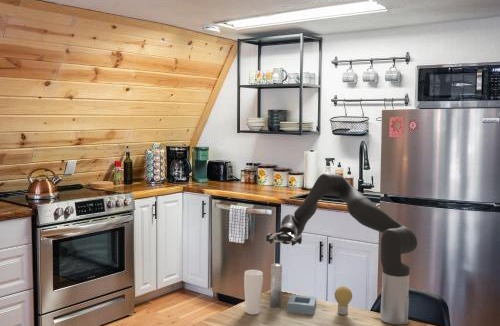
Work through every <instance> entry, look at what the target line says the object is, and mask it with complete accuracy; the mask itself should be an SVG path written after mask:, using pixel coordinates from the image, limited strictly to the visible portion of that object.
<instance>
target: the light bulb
mask: <svg viewBox="0 0 500 326" xmlns="http://www.w3.org/2000/svg"><path fill="white" fill-rule="evenodd" d="M334 299H335V300H336V303H337V304H338V305H337V313H338V314H339V315H341V316H342V315H343V316H344V315H347V314H348V312H349V304H350V302H352V299H353V293H352V290H351V289H350V288H349V287H346V286H340V287H337V288H336V289H335V292H334Z"/></svg>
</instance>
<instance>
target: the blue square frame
mask: <svg viewBox="0 0 500 326" xmlns="http://www.w3.org/2000/svg"><path fill="white" fill-rule="evenodd" d="M287 301H288V302H287V304H286V305H287V306H286V307H287V311H286V313H288V312H290V313H289V314H297V313H301V314H300V315H306V314H310V315H309V316H314V315H315V312H314V311H316V308H317V297H316V296H309V295H308V296H307V295H300V294H299V295H297V294H291V295H290V296H289V299H288V300H287ZM302 313H303V314H302Z"/></svg>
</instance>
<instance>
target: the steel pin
mask: <svg viewBox="0 0 500 326" xmlns="http://www.w3.org/2000/svg"><path fill="white" fill-rule="evenodd" d="M270 267H271V268H270V269H271V271H270V272H271V273H270V276H271V278H270V297H269V298H270V299H269V302H270V303H269V305H270V308H272V309H280V308H281V307H282V285H283V284H282V283H283V277H282V276H283V264H281V263H271V266H270Z"/></svg>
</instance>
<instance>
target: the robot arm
mask: <svg viewBox="0 0 500 326" xmlns="http://www.w3.org/2000/svg"><path fill="white" fill-rule="evenodd" d="M324 196H328V197H329V196H333V197H338V198H339V199H341V200H343V202H345V204H346V207H347V208H346V209H347V211H348V213H349V214H350V216H351V217H352V218H354V220H356V221H357V222H358V223H359V224H361V225H362V226H364V227H366V228H368V229H372V230H374V231H377V232H379V233H381V234H382V235H381V239H380V240H381V241H380V262H381V266H382V267H381V268H382V273H381V275H382V277H381V279H382V280H381V295H380V297H381V298H380V316H379V317H380V320H381V322H384V323H386V324H390V325H397V326H398V325H408V320H409V304H410V303H409V301H410V297H409V291H410V290H409V289H410V271H411V269H410V266H409V265H408V264H407V263H404V262H402V255H403V254H404V255H405V254H409V253H412V252H413V251H415V250H416V248H417V247H418V239H417V237H416V234H415V233H414V232H413V231H412V230H411V229H410V228H409V227H407V226H405V225H404V224H403V223H401V222H399V221H398V220H396V219H394V218H392V216H390V215H389V214H388V213H386V212H385V211H384V210H382V209H381V208H380V207H379V206H377V205H376V204H375V203H374V202H373V201H371V200H370V199H369V198H368V197H367V196H365V195H364V194H362V193H361V192H360V191H358V190H357V189H356V188H355V187H354V186H353V185H352V184H351V183H350V182H349V181H348V180H347V179H346V178H345V177H344V176H343V175H341V174H338V173H330V172H329V173H322V174H320V175H319V177H317V179H316V181H315V182H314V184H313V186H312V187H311V189H310V191H309V193H308V194H307V196H306V198H305V200H303V202H302V203H301V204H300V205H299V206H298V207H297V208H296V210H295V211H294V213H293V214H291V213H290V214H287V215H285V216H283V218H282V220H281V222H280V223H281V224H280V228H279V229H278V231H277V232H275V233H273V232H272V231H269V232H268V233H267V234H266V237H265V238H266V239H265V240H266V242H268V243H269V244H272V245H273V243H281V244H282V245H283V244H284V245H290V244H291V246H296V245H301V244H302V241H303V234H302V233H303V232H304V231H305V228H306V225H307V222H308V221H310V219H311V218H312V217H313V216H314V214H316V212H317V209H318V203H319V202H318V201H319V200H320V199H322V198H323V197H324Z"/></svg>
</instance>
